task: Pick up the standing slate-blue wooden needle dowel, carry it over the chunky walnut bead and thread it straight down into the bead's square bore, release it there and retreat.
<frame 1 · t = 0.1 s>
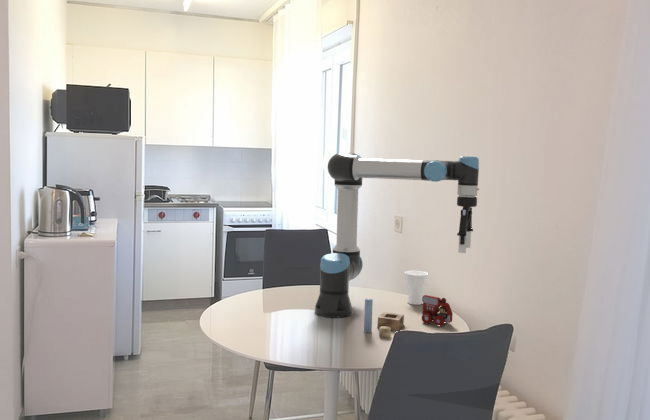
hand: (464, 250, 223), 28 cm above the table, fingers open, 13 cm apart
loose oak bead: (384, 336, 203), on the table
cup: (414, 303, 250), on the table
toy fire truck: (436, 323, 221), on the table
walnut bead: (390, 326, 215), on the table
needle dowel: (367, 331, 208), on the table
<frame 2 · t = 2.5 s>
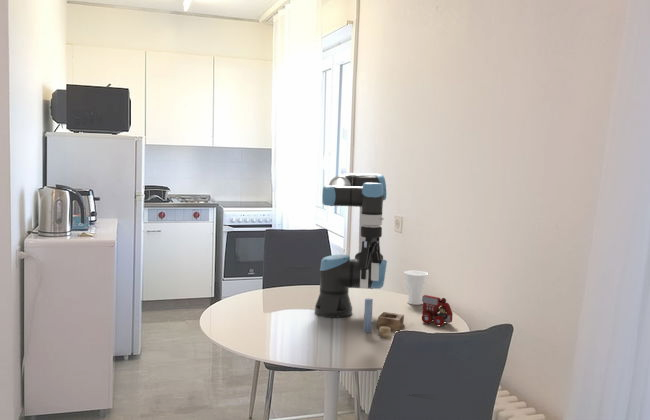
hand: (369, 284, 206), 18 cm above the table, fingers open, 13 cm apart
nothing on the table moved.
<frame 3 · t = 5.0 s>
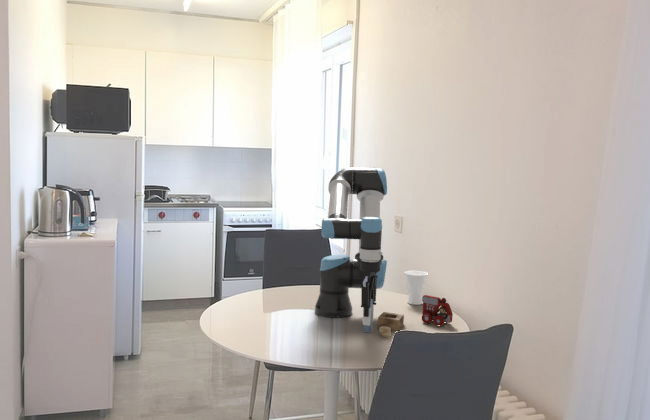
hand: (367, 323, 207), 3 cm above the table, fingers closed on needle dowel, 3 cm apart
needle dowel: (367, 331, 208), on the table, touching gripper
everything else where it was.
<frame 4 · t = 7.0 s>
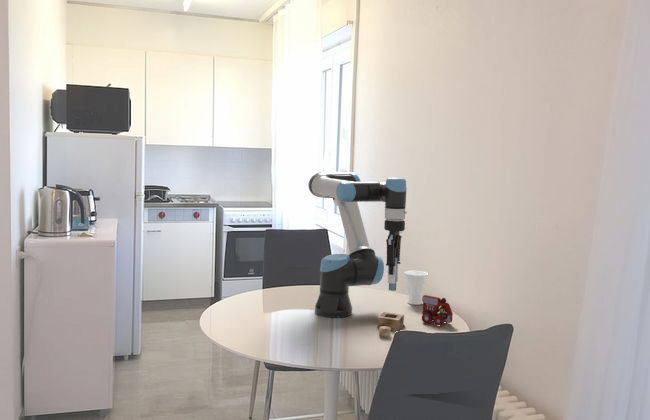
hand: (392, 281, 213), 17 cm above the table, fingers closed on needle dowel, 3 cm apart
needle dowel: (392, 289, 213), point 14 cm above the table, touching gripper
everything else where it was.
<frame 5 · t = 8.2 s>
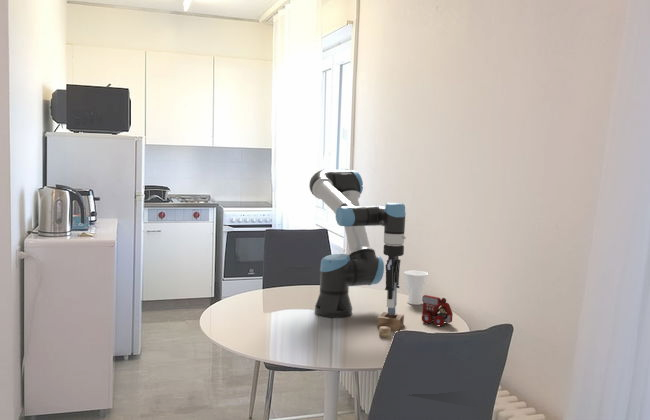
hand: (391, 306, 214), 8 cm above the table, fingers closed on needle dowel, 3 cm apart
needle dowel: (391, 313, 214), point 5 cm above the table, touching gripper
everything else where it was.
when the fingers open (5 cm above the table, at t = 9.3 s): needle dowel drops 2 cm, resting in walnut bead.
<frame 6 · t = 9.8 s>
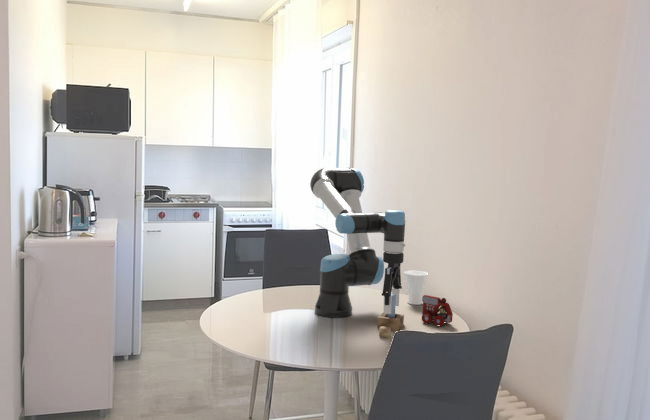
hand: (391, 309, 214), 7 cm above the table, fingers open, 11 cm apart
needle dowel: (390, 326, 215), resting in walnut bead
everything else where it was.
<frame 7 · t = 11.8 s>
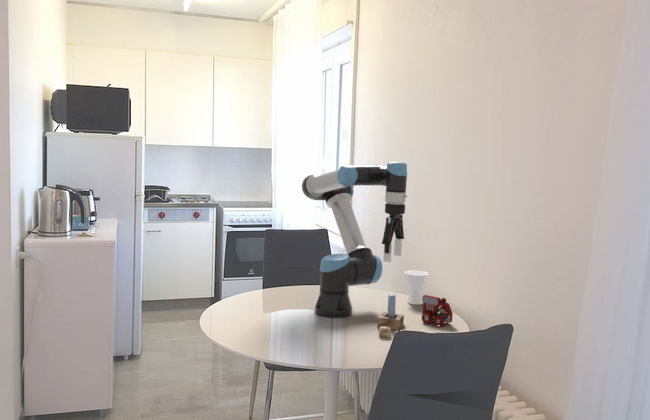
hand: (392, 258, 217), 25 cm above the table, fingers open, 13 cm apart
nothing on the table moved.
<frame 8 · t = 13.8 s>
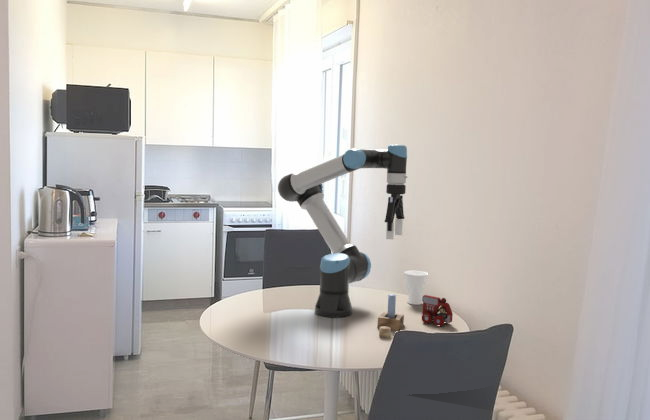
hand: (394, 237, 228), 32 cm above the table, fingers open, 13 cm apart
nothing on the table moved.
at the end: needle dowel 0.1 cm off-centre on the walnut bead, point 0.0 cm above the walnut bead's base; needle dowel tilted 0°; the gripper is holding nothing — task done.
